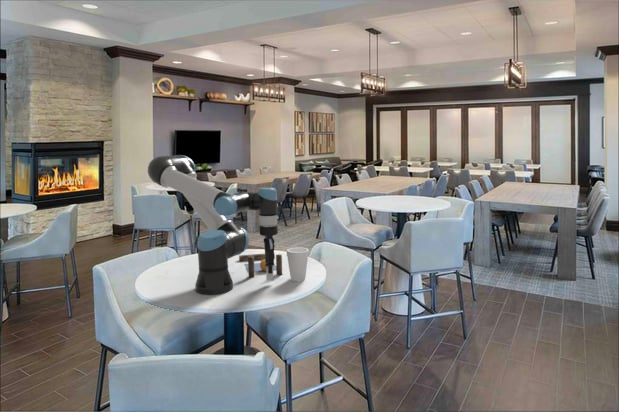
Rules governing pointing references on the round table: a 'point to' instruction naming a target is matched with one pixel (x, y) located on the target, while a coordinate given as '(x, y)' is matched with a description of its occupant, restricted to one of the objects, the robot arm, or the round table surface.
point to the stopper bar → (256, 256)
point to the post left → (251, 266)
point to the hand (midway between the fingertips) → (270, 280)
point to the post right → (278, 264)
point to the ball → (263, 265)
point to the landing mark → (258, 267)
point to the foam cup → (297, 263)
